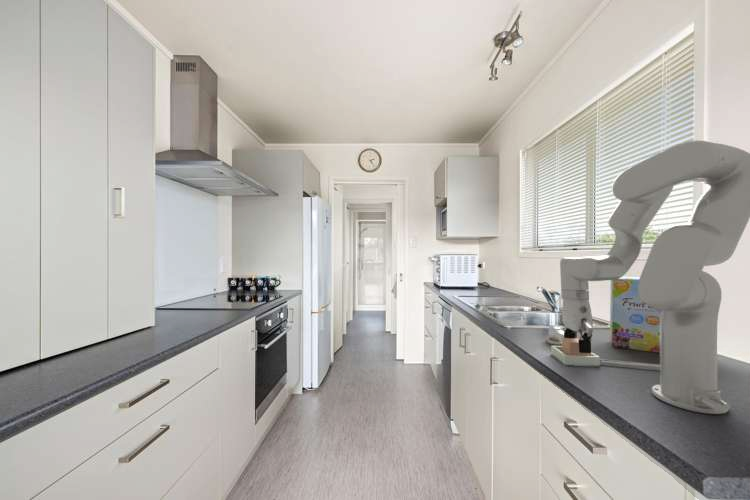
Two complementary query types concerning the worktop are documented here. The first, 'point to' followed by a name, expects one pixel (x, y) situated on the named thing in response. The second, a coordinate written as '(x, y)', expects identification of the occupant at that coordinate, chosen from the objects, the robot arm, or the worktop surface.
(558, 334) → the crank
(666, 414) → the worktop surface
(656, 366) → the adjustable wrench
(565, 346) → the block
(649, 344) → the snack box
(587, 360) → the tray
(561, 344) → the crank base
